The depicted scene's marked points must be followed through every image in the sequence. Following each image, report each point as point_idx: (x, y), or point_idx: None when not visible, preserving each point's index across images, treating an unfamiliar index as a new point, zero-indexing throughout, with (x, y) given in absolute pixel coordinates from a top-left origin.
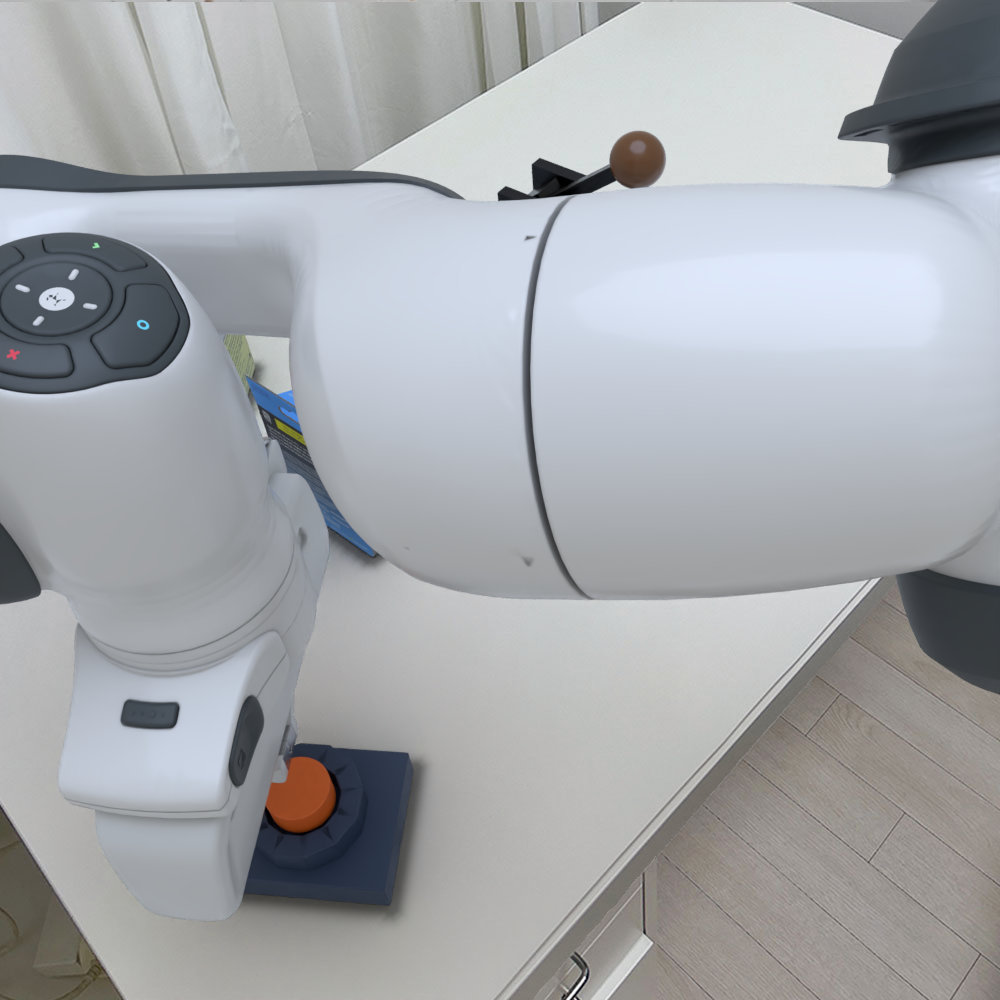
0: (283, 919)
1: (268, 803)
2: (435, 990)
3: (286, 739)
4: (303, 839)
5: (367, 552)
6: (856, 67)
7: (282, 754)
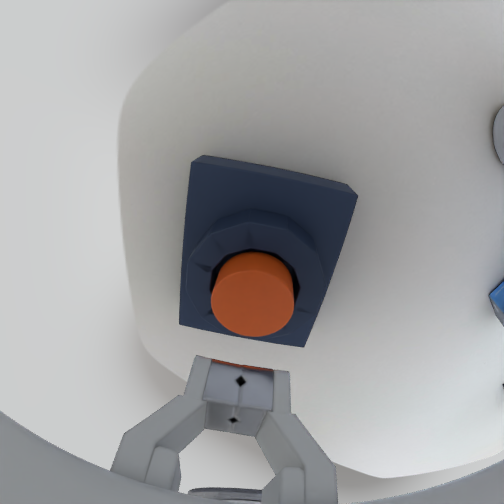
0: (174, 223)
1: (233, 277)
2: (136, 322)
3: (231, 432)
4: (205, 290)
5: (493, 292)
6: None
7: (206, 427)
